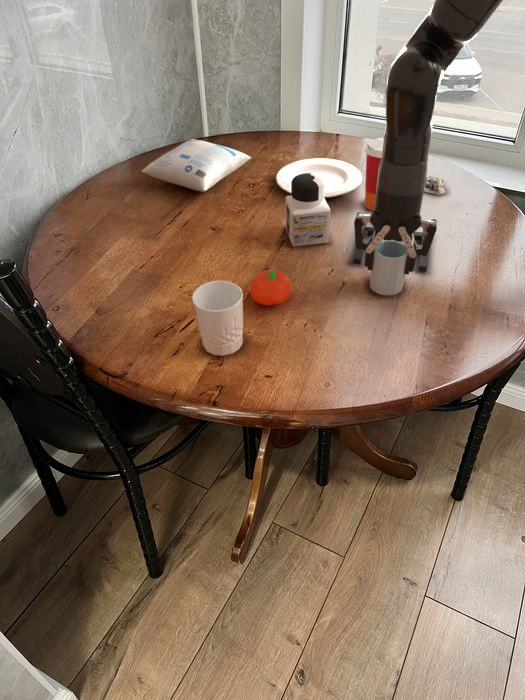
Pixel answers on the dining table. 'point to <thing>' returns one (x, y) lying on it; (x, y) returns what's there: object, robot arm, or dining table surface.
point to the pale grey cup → (388, 267)
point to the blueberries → (434, 185)
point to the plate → (323, 175)
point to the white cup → (219, 316)
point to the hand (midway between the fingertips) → (388, 269)
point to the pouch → (196, 164)
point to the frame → (417, 236)
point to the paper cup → (372, 170)
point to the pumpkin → (270, 287)
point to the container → (307, 211)
